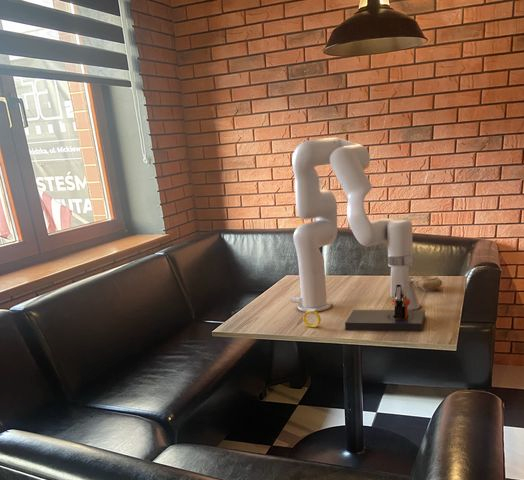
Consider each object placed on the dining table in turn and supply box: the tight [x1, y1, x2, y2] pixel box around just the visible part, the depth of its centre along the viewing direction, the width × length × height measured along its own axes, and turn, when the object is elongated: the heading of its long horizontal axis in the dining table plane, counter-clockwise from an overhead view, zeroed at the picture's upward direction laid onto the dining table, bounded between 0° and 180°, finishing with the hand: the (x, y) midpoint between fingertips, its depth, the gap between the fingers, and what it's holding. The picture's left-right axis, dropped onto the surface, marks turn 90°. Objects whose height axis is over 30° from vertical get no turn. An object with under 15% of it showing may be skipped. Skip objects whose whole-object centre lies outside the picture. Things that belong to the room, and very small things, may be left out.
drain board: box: [344, 309, 426, 332], centre depth 177 cm, size 24×14×2 cm, turn 70°
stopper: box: [391, 298, 410, 319], centre depth 173 cm, size 6×6×6 cm
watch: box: [302, 309, 322, 328], centre depth 181 cm, size 6×3×6 cm, turn 57°
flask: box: [407, 279, 421, 310], centre depth 189 cm, size 7×7×10 cm
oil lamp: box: [409, 275, 443, 292], centre depth 210 cm, size 11×14×5 cm
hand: (401, 314), depth 174 cm, fingers closed on stopper, 5 cm apart
